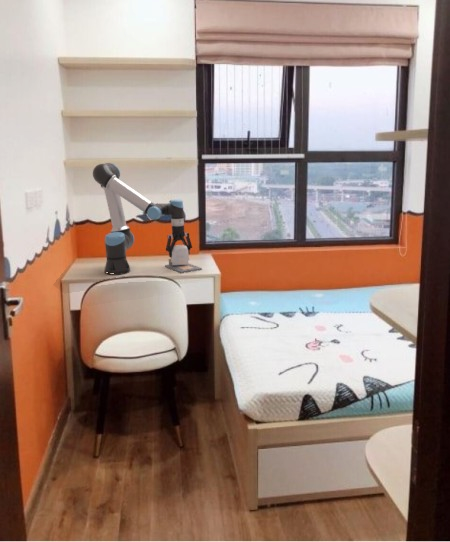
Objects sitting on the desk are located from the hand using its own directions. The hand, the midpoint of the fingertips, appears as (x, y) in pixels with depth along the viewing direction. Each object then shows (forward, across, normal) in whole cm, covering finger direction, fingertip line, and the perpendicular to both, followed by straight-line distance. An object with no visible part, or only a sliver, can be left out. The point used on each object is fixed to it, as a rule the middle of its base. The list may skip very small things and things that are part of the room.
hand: (179, 261), depth 324 cm
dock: (+4, 0, -4) cm, 5 cm away
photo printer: (+2, 0, 0) cm, 2 cm away
